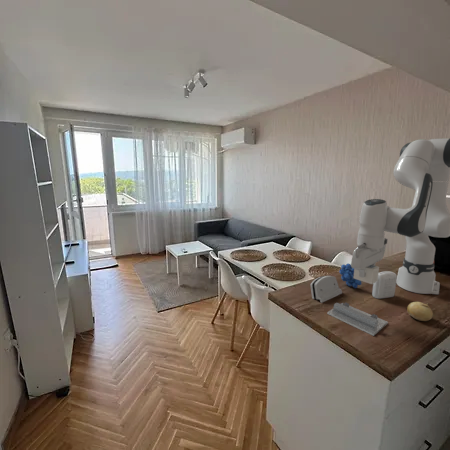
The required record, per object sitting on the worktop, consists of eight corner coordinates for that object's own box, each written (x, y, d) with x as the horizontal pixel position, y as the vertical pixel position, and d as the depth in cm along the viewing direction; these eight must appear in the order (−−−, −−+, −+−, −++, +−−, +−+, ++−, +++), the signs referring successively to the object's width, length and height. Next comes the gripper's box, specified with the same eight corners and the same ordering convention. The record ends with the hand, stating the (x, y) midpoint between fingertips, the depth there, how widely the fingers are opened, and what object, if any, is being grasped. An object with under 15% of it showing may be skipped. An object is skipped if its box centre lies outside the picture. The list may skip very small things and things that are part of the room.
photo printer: (388, 292, 118) (391, 268, 116) (395, 297, 114) (399, 272, 112) (370, 295, 116) (372, 271, 113) (377, 299, 112) (380, 274, 109)
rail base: (342, 304, 109) (342, 296, 108) (387, 323, 94) (388, 314, 94) (327, 313, 102) (327, 305, 101) (373, 336, 87) (374, 326, 87)
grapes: (333, 284, 128) (335, 262, 125) (341, 281, 132) (343, 260, 129) (355, 293, 118) (358, 269, 116) (363, 289, 122) (365, 266, 120)
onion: (410, 321, 95) (413, 305, 94) (403, 311, 103) (405, 295, 101) (435, 325, 93) (438, 308, 91) (426, 314, 100) (428, 298, 99)
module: (359, 275, 102) (360, 261, 101) (377, 280, 96) (379, 266, 95) (353, 278, 99) (355, 263, 98) (371, 284, 94) (373, 268, 92)
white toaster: (321, 303, 110) (316, 281, 111) (312, 302, 114) (307, 280, 115) (342, 293, 119) (338, 272, 120) (334, 292, 123) (329, 272, 124)
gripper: (366, 248, 86) (361, 284, 89) (389, 238, 98) (385, 271, 101) (348, 244, 91) (344, 278, 94) (372, 235, 103) (369, 266, 106)
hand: (366, 274), depth 97 cm, fingers closed on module, 5 cm apart
